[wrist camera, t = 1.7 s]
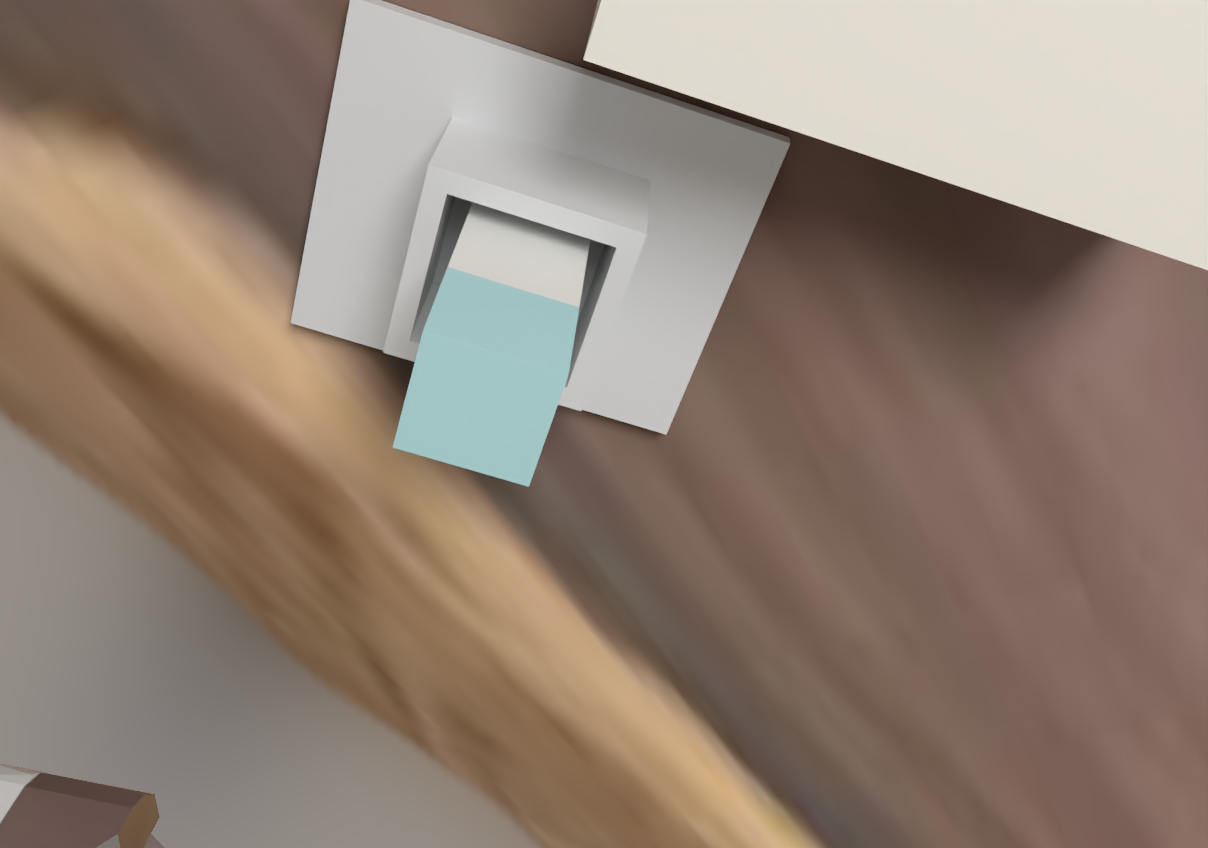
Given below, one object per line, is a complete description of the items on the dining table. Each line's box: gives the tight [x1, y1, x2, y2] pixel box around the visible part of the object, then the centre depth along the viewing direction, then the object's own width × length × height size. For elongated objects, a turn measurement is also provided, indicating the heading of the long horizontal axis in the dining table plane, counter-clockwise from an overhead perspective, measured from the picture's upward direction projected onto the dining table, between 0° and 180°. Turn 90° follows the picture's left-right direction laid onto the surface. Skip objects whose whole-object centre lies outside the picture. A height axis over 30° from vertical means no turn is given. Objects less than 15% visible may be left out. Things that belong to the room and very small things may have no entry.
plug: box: [392, 202, 590, 487], centre depth 29 cm, size 3×3×9 cm
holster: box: [291, 0, 790, 434], centre depth 31 cm, size 12×10×4 cm
